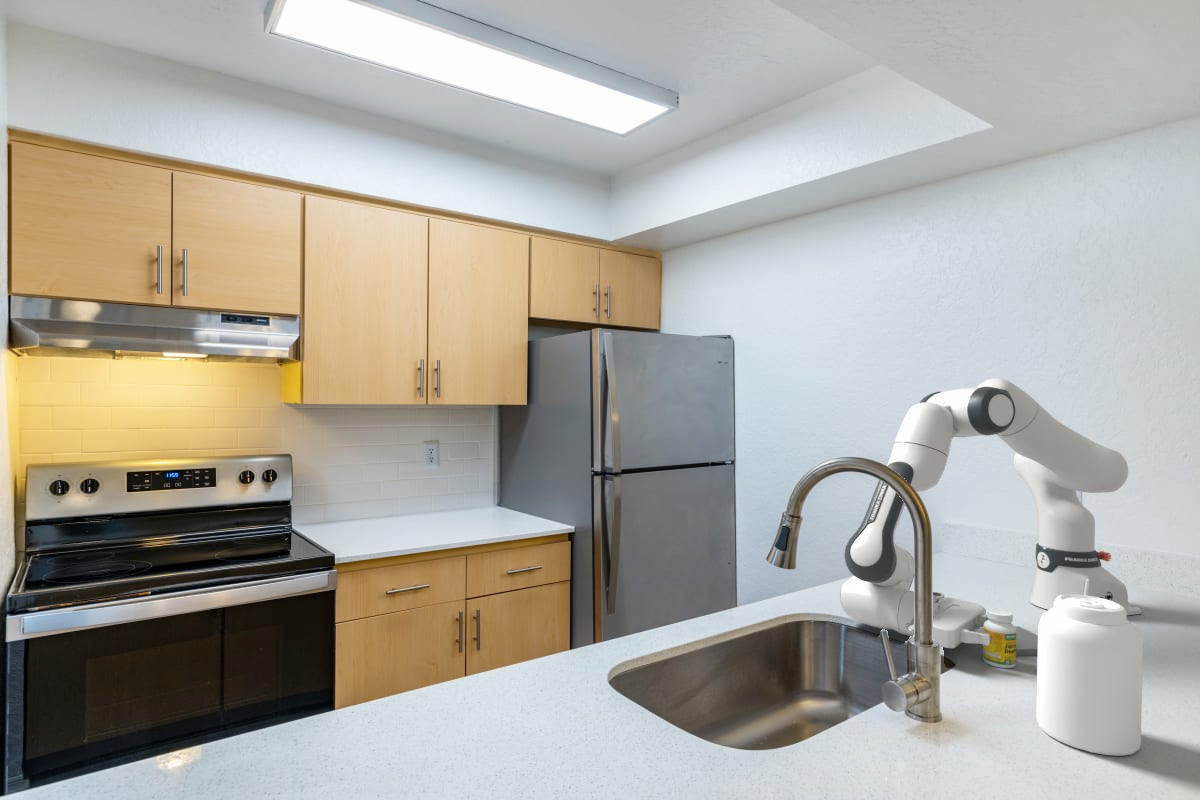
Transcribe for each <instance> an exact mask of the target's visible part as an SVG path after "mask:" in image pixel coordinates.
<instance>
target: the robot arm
mask: <svg viewBox="0 0 1200 800" xmlns="http://www.w3.org/2000/svg"><path fill="white" fill-rule="evenodd" d="M994 435H997V437H999V438H1000V439H1001V441H1003V442H1005V444H1006V445H1007V446H1009V448H1011V449H1012V450H1013V451H1014V452H1015V453H1014V456H1013V467H1014V470H1015V471H1014V472H1016V474H1017V475H1018V476H1019V477H1020V478H1021V479H1022V481H1024V482H1025V484H1026V485H1027V487H1028V489H1029V490H1030V493H1031V495H1032V498H1033V500H1034V504H1035V506H1036V513H1037V521H1038V522H1037V529H1038V530H1037V531H1038V533H1037V535H1038V536H1037V537H1038V538H1037V539H1038V540H1037V541H1038V542H1037V543H1036V544H1035V561H1036V570H1035V575H1034V580H1033V586H1032V589H1031V593H1030V596H1029V598H1028V601H1029V602H1030V603H1031V604H1032V605H1034V606H1036V607H1039V608H1042V609H1045V610H1047V611H1048V610H1050V609H1051V608H1054V601H1055V600H1056V598H1057V596H1060V595H1067V594H1078V595H1088V596H1093V597H1099V598H1103V599H1107V600H1110V601H1113V602H1115V603H1117V604H1120V605H1121V606H1123V607H1124V609H1125V611H1126V613H1127V616H1131V615H1133V616H1134V615H1140V614H1142V610H1141V607H1138V606H1137V605H1135V604H1133V603H1131V602H1129V595H1128V590H1127V587H1126V585H1125V583H1123V582H1122V581H1121V580H1120V579H1118V578H1117V577H1115V576H1114V575H1113V574H1112V573H1111V572H1109V571H1108V570H1107V569H1106V568H1105V567H1103V566H1102V561H1105V562H1109V561H1111V559H1112V554H1111V553H1110V552H1105V551H1104V550H1101V551H1097V550H1096V549H1095V541H1096V540H1095V536H1096V520H1095V517H1094V515H1093V513H1092V512H1091V511H1090V510H1088V509H1087V507H1085V506H1084V504H1082V503H1081V500H1080V499H1079V497H1078V494H1077V492H1081V493H1087V494H1095V493H1096V494H1099V493H1114V492H1116V491H1118V490H1119V489H1121V488H1122V487H1123V485H1125V484H1126V482H1127V479H1128V476H1129V466H1128V463H1127V460H1126V459H1125V457H1124V455H1122V454H1121V453H1120V452H1119V451H1117V450H1114V449H1111V448H1109V447H1106V446H1104V445H1101V444H1099V443H1097V442H1094V441H1093V440H1091V439H1089V438H1087V437H1086V436H1084V435H1082V434H1081V433H1079V432H1077V431H1075V430H1073V429H1071V428H1070V427H1068V426H1066V425H1064V424H1063V423H1061V422H1060V421H1058V419H1056V417H1053V415H1051V414H1050V412H1048V411H1047V410H1046V409H1045V408H1044V407H1042V405H1040V404H1039V403H1038V402H1037V401H1036V400H1035V399H1034V398H1033V397H1032V396H1031V395H1030V394H1028V393H1027V392H1026V391H1024V390H1023V389H1022V388H1020V387H1019V386H1017V385H1016V384H1014V383H1013V382H1010V381H1009V380H1007V379H1005V378H1002V377H992V378H989V379H985V380H983V381H982V382H980V383H979V384H978V385H977V386H975V387H959V388H956V389H950V390H945V391H936V392H935V391H934V392H933V393H930V394H928V395H925V397H923V398H922V399H921V400H920V401H919V403H916V404H913V405H912V406H911V407H909V409H908V411H907V413H906V414H905V416H904V418H903V420H902V422H901V424H900V427H899V429H898V431H897V434H896V437H895V440H894V442H893V447H892V450H891V453H890V456H889V459H888V462H887V465H886V466H887V467H889V468H891V469H893V470H894V471H896V472H897V473H899V474H900V475H901V476H902V477H903V478H905V480H907V482H908V483H909V484H910V485H911V486H912V487H913V488H914V489H915V490H916V491H917V492H916V493H919V492H925V491H928V490H930V489H931V488H933V487H935V486H937V485H938V484H939V481H940V479H941V478H942V477H943V476H942V475H943V474H944V471H945V469H946V466H947V462H948V458H949V456H950V455H949V454H950V450H951V446H952V445H951V444H952V441H953V439H954V438H969V437H978V436H994ZM905 506H906V504H905V503H904V502H903V501H902V499H901V498H900V497H899V495H898V494H897V493H896V492H895V491H894V490H893V489H892V488H891V487H890V486H888V485H887V484H885V483H884V482H882V481H881V480H880V479H879V480H878V482H877V484H876V487H875V490H874V493H873V495H872V497H871V500H870V502H869V505H868V507H867V510H866V513H865V515H864V518H863V520H862V522H861V524H860V526H858V529H857V530H856V531H855V532H854V533H853V534H852V536H851V537H850V539H849V540H848V542H847V544H846V546H845V548H844V562H845V565H846V567H847V570H848V571H849V572H850V574H852V576H851V577H850V578H848V580H845V581H844V582H843V584H842V585H841V588H840V593H839V594H840V605H841V607H842V609H843V612H844V613H845V614H846V615H847V616H848V617H849V618H851V619H852V620H854V621H856V622H859V623H861V624H864V625H867V626H871V627H873V628H878V629H882V630H893V631H896V632H897V633H899V634H901V635H905V636H909V637H912V638H914V637H913V635H914V592H915V591H913V590H911V587H912V585H913V581H914V577H915V574H914V562H915V559H914V558H913V556H912V555H911V553H910V552H909V551H908V550H907V549H906V548H904V547H902V546H901V545H899V544H898V543H896V542H895V533H896V531H897V528H898V525H899V522H900V519H901V517H902V514H903V511H904V510H905ZM932 592H933V639H934V640H935V641H936V642H939V643H940V645H941V646H940V647H942V648H945V649H955V648H956V647H958V646H959V645H960V644H962V643H965V644H976V645H977V644H980V645H982V646H983V645H989V644H990V643H991V642H992V636H991V635H990V634H988V633H984V632H980V633H978V632H976V631H977V630H978V629H979V628H981V627H983V625H984V622H985V621H987V620H989V619H988V616H987V615H988V614H987V613H986V611H987V609H986V608H985V607H984V606H982V605H980V604H978V603H973V602H970V601H966V600H963V599H958V598H954V597H949V596H947V597H945V594H944V593H942V592H937V591H935V592H934V591H932ZM986 614H987V615H986Z"/></svg>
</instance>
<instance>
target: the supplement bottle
mask: <svg viewBox="0 0 1200 800" xmlns="http://www.w3.org/2000/svg"><path fill="white" fill-rule="evenodd" d="M987 616H988V619H989V620H987V621H985V622H984V625H983V632H984V633H988V634H990V635H991V636H992V642H991V643H990V644H989V645H983V644H982V659H983V662H985V663H986V664H987V665H990V666H992V667H995V668H1001V669H1012V668H1015V667H1016V665H1017V656H1016V635H1017V630H1016V627H1015V626H1016V625H1014V623H1012V622H1013V621H1014V620H1013V619H1014V617H1013V613H1012V612H1010V611H1008V610H1005V609H998V608H990V609H988V610H987Z"/></svg>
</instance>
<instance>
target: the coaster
mask: <svg viewBox="0 0 1200 800" xmlns="http://www.w3.org/2000/svg"><path fill="white" fill-rule="evenodd" d="M1014 626H1015V627H1016V630H1017V635H1016V657H1017V656H1019V657H1020V656H1038V634H1036V633H1034V632H1032V631H1029V630H1028V629H1025V628H1024V627H1022V626H1019V625H1014ZM976 632H978V633H980V632H983V627H981V628H979V629H978V630H977V631H976Z"/></svg>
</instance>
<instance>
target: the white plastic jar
mask: <svg viewBox="0 0 1200 800" xmlns="http://www.w3.org/2000/svg"><path fill="white" fill-rule="evenodd" d="M1127 617H1128V615H1127V613H1126V611H1125V609H1124V607H1123V606H1121V605H1120V604H1117V603H1115V602H1113V601H1110V600H1107V599H1103V598H1099V597H1093V596H1088V595H1078V594H1067V595H1060V596H1057V598H1056V600H1055V601H1054V608H1051V609H1050V610H1048V609H1047V610H1046V611H1045V612H1043V613H1042V615H1041V617H1040V620H1039V623H1038V626H1037V635H1038V655H1037V659H1036V660H1037V661H1036V662H1037V663H1036V666H1037V667H1036V670H1037V671H1036V709H1035V710H1036V712H1035V713H1036V715H1035V719H1036V721H1037V724H1038V725H1039V728H1040V729H1041V730H1042V731H1043V732H1044V733H1045V734H1046V735H1048V736H1049V737H1051V738H1053V739H1054V740H1056V741H1058V742H1060V743H1062V744H1065V745H1067V746H1069V747H1073V748H1074V749H1078V750H1082V751H1086V752H1088V753H1095V754H1098V755H1099V754H1100V755H1104V756H1118V757H1119V756H1130V755H1133V754H1135V753H1137V752H1138V751H1139V750H1140V748H1141V745H1142V743H1141V742H1142V713H1143V711H1142V708H1143V707H1142V703H1143V701H1142V700H1143V664H1144V661H1143V659H1144V657H1143V656H1144V642H1143V638H1142V635H1141V632H1140V630H1139V629H1137V627H1135V626H1134V624H1132V623H1131V622H1130V621H1129V620H1128V619H1127Z"/></svg>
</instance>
